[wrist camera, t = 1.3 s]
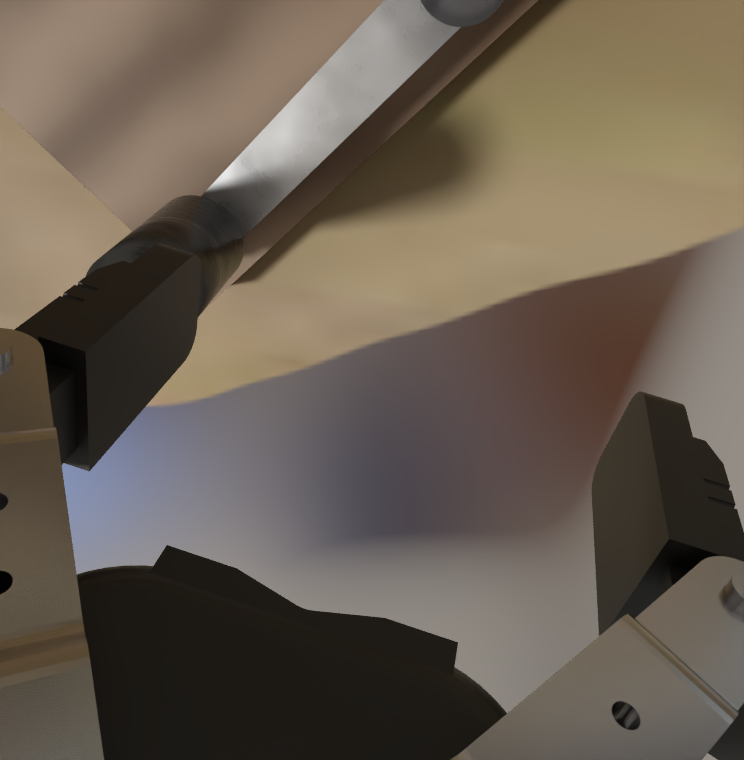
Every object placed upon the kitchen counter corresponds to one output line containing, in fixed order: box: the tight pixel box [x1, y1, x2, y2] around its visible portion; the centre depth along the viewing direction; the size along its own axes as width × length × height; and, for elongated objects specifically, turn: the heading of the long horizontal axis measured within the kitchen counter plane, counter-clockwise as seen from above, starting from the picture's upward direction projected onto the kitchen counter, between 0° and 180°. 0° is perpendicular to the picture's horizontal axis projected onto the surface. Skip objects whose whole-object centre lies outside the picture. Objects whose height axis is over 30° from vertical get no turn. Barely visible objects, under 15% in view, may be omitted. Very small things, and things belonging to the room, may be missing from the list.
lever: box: [86, 0, 504, 317], centre depth 25 cm, size 19×4×8 cm, turn 134°
